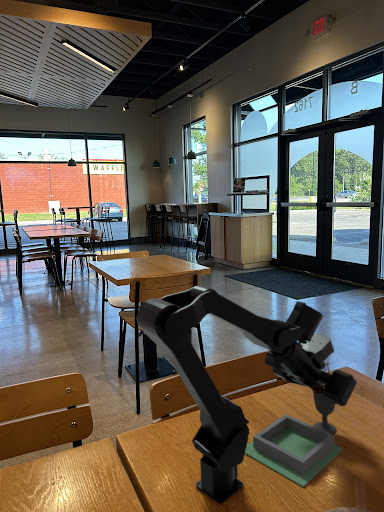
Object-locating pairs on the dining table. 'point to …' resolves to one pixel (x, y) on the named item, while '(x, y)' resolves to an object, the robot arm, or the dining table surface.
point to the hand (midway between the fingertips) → (328, 392)
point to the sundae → (323, 406)
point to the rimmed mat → (293, 449)
